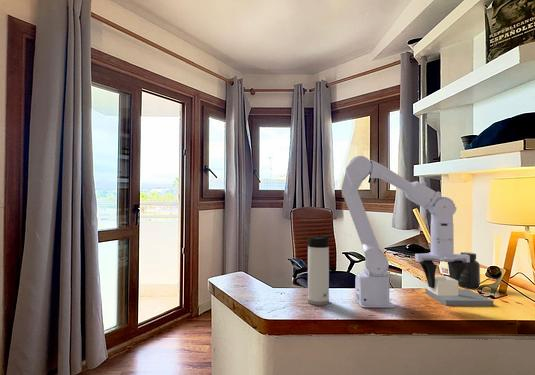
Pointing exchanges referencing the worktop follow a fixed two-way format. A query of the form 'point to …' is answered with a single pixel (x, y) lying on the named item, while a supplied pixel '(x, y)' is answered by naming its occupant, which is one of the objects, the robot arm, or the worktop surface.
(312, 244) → the travel mug
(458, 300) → the shaft board
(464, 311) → the worktop surface
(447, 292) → the collar
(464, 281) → the supplement bottle
